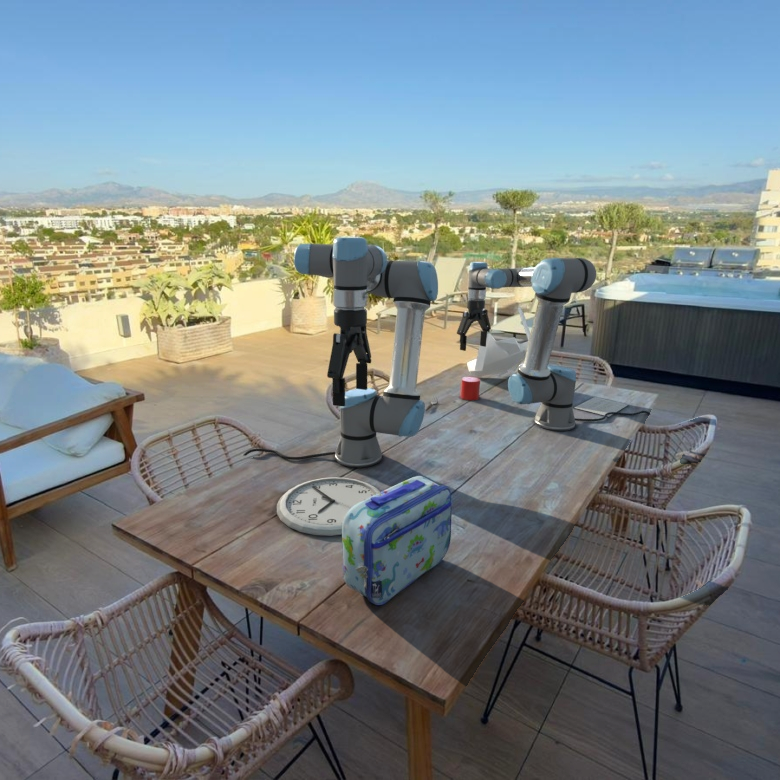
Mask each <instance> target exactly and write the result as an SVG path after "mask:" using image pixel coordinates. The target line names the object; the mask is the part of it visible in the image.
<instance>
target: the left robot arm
mask: <svg viewBox="0 0 780 780" xmlns="http://www.w3.org/2000/svg"><path fill="white" fill-rule="evenodd" d="M293 265H294V267H295V270H296V271H297V273H298V274H300V275H305V276H306V275H308V276H318V277H321V278H327V279H330V280H333V306H334V307H335V308H334V309H333V323H334V325H335V326H336V327H339V328H340V329H339V333H336V332H334V333H333V335H332V348H331V353H330V357H329V362H328V363H329V364H328V367H327V375H326V376H327V378H328V379H332V406H336V407H339V425H340V429H339V430H340V435H339V436H340V437H339V440H338V442H337V446H336V449H335V451H330V452H328V451H327V452H322V453H315V454H314V453H313V454H307V455H302V456H288V455H285V454H283V453H281V452H279V451H277V450H274V449H270V448H269V449H268V448H252V449H249V450H247V451H245V453H243V455H242V456H243V457H246V456H248V455H249V454H251V453H253V452H254V453H255V452H263V453H272V454H275V455H277V456H279V457H281V458H283V459H285V460H293V461H295V460H297V461H299V460H305V459H312V458H318V457H325V456H334V459H335V462H336V463H337V464H339V465H341V466H343V467H347V468H353V469H354V468H355V469H356V468H357V469H361V468H369V467H373V466H375V465H377V464H379V463H380V462H381V461H382V457H383V456H382V455H383V453H382V449H381V445H380V443H379V441H378V436H377V433H378V434H385V435H390V436H391V435H392V436H397V437H400V438H401V437H405V438H406V437H407V438H412V437H414V436H415V435H417V434H418V432H419V431H420V428H421V426H422V425H423V420H424V417H425V413H426V408H425V407H426V403H425V401H423V400H422V399H421V394H420V392H419V391H418V390H417V385H418V375H419V367H420V357H421V348H422V340H423V332H424V321H425V313H426V312H427V311H428V310H429V309H430V308H431V303H432V302H435V301H437V299H438V294H439V279H438V274H437V269H436V267H435V265H434V264H433V263H432V262H428V261H421V260H393V259H388V256H387V254H386V252H385V251H384V249H383V248H381V247H380V246H379V245H376V244H368V241H367V239H366V238H365V237H360V236H359V237H358V236H338V237H337V236H336V238H334V239H333V243H332V244H329V243H328V244H327V243H312V242H309V243H300V244H298V245H297V246H296V248H295V249H294V253H293ZM370 294H371V295H373V296H375V297H376V296H377V297H380V298H385V299H392V304H393V306H394V307H395V309H396V315H395V316H396V317H395V326H394V334H393V335H394V336H393V345H392V354H391V361H390V372H389V382H388V386H387V387H386V388H385V389H383V391H382V395H378V391H377V389H375V388H372V387H368V364H371V363H372V353H371V349H370V348H371V347H370V343H369V337H368V332H367V324H368V310H367V309H366V307H367V306H368V298H369V295H370ZM352 353H354V354H353V355H354V356H355V358H356V360H357V362H356V364H355V388H353V389H350V390H346V378H345V377H344V375H345V371H346V368H347V365H348V361H349V358H350V355H351V354H352Z"/></svg>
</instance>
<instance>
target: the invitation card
mask: <svg viewBox="0 0 780 780" xmlns="http://www.w3.org/2000/svg"><path fill="white" fill-rule="evenodd" d="M628 406H629V404H627V403H623V402H618V401H614V400H609V399H605V398H601V397H596V396H593V397H592V398H590V399H588V400H586V401H584V402H582V403H580V404H578V405H575V406H574V407H573V409H575V410H581V411H584V412H587V413H593V414H596V415H600V416H604V415H605V414H606V413H609V412H620V411H621V410H623V409H624V408H626V407H628ZM613 415H614V414H609V415H607V416H606V417H608V418H609V417H611V416H613Z"/></svg>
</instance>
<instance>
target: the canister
mask: <svg viewBox="0 0 780 780" xmlns="http://www.w3.org/2000/svg"><path fill="white" fill-rule="evenodd" d="M480 385H481V378H478V377H473V376H464V377H461V384H460V386H461V387H460V399H462V400H465V401H477V400H479V399H480Z"/></svg>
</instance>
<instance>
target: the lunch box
mask: <svg viewBox="0 0 780 780" xmlns="http://www.w3.org/2000/svg"><path fill="white" fill-rule="evenodd" d="M452 511H453V510H452V491H451V489H450V487H449V486H447V485H444V484H442V485H440V484H437V483H436V482H434V481H432V480H430V479H428V478H427V477H425V476H422V475H416V476H413V477H411V478H408V479H406V480H403V481H401V482H399V483H397V484H395V485H393V486H390V487H388V488H386V489H384V490H382V491H381V492H380V493H378V494H376V495H374V496H372V497H370V498H368V499H366V500H364V501H362V502H360V503H358V504H356V505H354V506H353V507H352V508H351V509H350V510H349V511H348V512H347V514H346V516H345V518H344V521H343V525H342V535H341V543H342V544H341V545H342V569H343V578H344V583H345V585H346V586H347V587H349V588H351V589H352V590H354V591H356V592H357V593H360V594H361V595H362V596H363V597H365V598H367V601H369V603H372V604H373V605H376V606H383V605H385V604H386V603H388V602H389V601H390V600H391V599H392V598H394V597H395V596H396V595H397V594H399V593H400V592H401V591H403V590H404V589H406V588H407V587H408V586H410V585H411V584H413V583H414V582H416V580H417V579H418V578H420V576H422V575H423V574H425V573H426V572H428V571H430V570H432V569H433V568H435V567H436V566H438V565H439V564H440V563H441V562H442V561H443V560H444V558H445V557H446V555H447V552H448V551H449V548H450V544H451V539H452V515H453V514H452Z"/></svg>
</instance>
